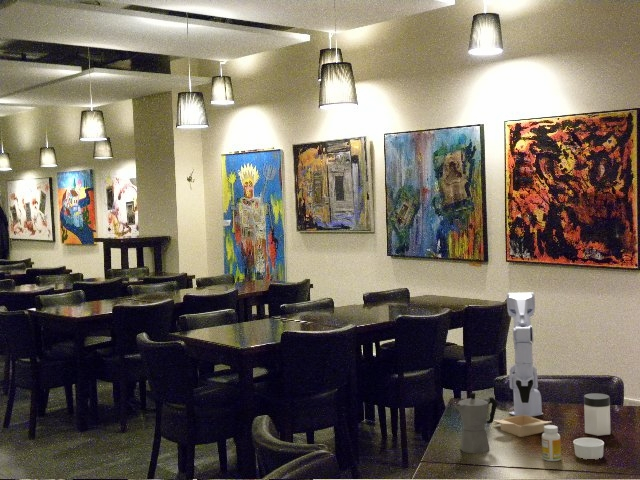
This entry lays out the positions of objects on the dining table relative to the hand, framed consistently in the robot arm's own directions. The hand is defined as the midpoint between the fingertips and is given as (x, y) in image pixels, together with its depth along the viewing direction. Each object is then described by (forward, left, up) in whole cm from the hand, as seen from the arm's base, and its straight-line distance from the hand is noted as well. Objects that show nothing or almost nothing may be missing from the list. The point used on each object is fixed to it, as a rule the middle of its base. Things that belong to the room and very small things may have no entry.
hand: (525, 402), depth 270 cm
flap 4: (+1, +4, -6) cm, 7 cm away
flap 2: (+1, -6, -6) cm, 8 cm away
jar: (-18, +14, -10) cm, 25 cm away
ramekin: (+2, +30, -10) cm, 32 cm away
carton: (+1, -1, -10) cm, 10 cm away
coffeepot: (+25, +6, -10) cm, 28 cm away
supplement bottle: (+13, +26, -10) cm, 31 cm away
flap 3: (-4, -1, -6) cm, 7 cm away
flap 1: (+6, -1, -6) cm, 9 cm away
